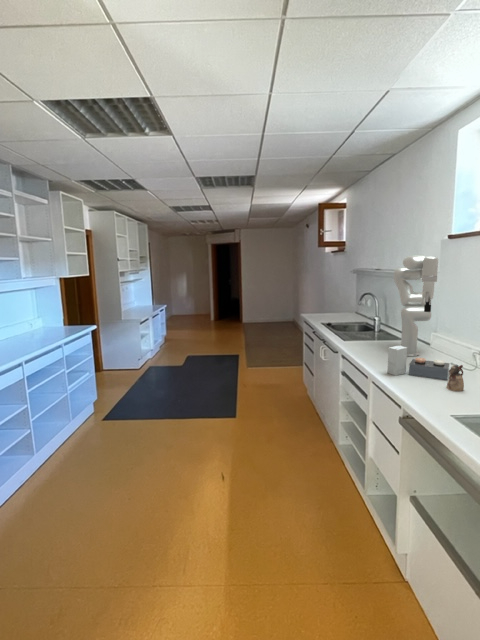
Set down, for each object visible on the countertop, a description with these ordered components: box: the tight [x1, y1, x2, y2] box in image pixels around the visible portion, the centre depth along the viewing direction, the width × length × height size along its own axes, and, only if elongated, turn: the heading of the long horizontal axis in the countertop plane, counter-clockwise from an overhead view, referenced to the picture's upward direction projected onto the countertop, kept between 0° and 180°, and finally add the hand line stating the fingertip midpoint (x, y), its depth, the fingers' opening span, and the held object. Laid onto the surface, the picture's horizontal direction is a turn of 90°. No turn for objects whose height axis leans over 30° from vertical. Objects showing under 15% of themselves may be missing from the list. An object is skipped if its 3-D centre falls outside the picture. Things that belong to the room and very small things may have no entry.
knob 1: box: [414, 357, 427, 364], centre depth 197 cm, size 5×5×8 cm
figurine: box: [446, 363, 465, 392], centre depth 172 cm, size 7×7×12 cm
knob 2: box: [433, 359, 446, 367], centre depth 192 cm, size 5×5×8 cm
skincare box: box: [387, 345, 408, 377], centre depth 197 cm, size 8×6×15 cm
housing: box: [408, 358, 450, 381], centre depth 194 cm, size 12×18×6 cm, turn 57°
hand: (427, 311), depth 204 cm, fingers closed
